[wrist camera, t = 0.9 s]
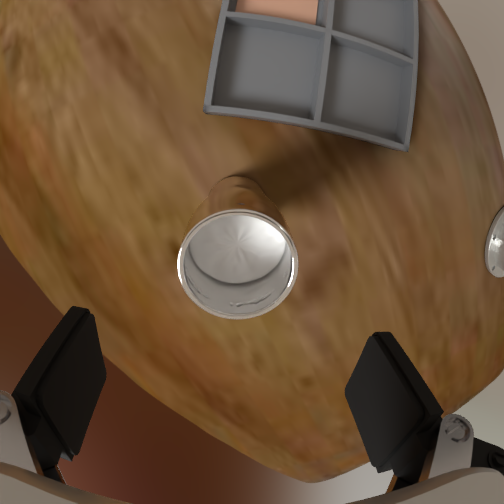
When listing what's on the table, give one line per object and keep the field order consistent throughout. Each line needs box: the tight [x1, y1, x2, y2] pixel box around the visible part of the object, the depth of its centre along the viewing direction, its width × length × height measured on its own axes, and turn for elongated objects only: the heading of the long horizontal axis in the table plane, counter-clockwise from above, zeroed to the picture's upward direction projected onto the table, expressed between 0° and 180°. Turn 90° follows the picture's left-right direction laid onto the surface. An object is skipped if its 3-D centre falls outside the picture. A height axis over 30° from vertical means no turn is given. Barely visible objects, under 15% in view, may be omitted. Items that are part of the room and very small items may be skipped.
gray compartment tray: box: [203, 0, 419, 152], centre depth 22 cm, size 20×20×3 cm
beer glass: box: [177, 176, 299, 319], centre depth 22 cm, size 7×7×15 cm
